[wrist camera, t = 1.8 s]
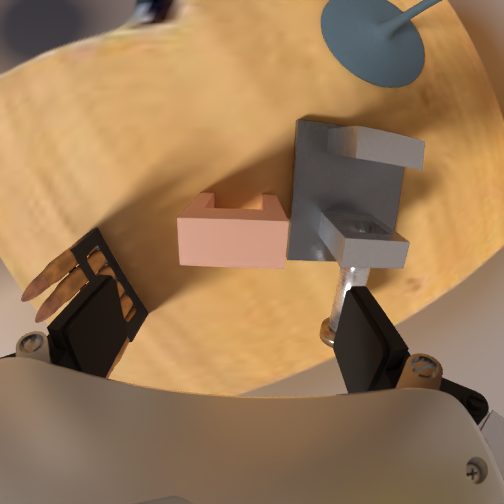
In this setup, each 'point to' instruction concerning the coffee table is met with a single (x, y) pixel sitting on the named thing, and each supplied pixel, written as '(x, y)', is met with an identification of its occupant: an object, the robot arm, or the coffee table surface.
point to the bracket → (349, 194)
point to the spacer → (233, 234)
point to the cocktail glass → (375, 39)
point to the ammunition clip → (78, 278)
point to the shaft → (342, 300)
